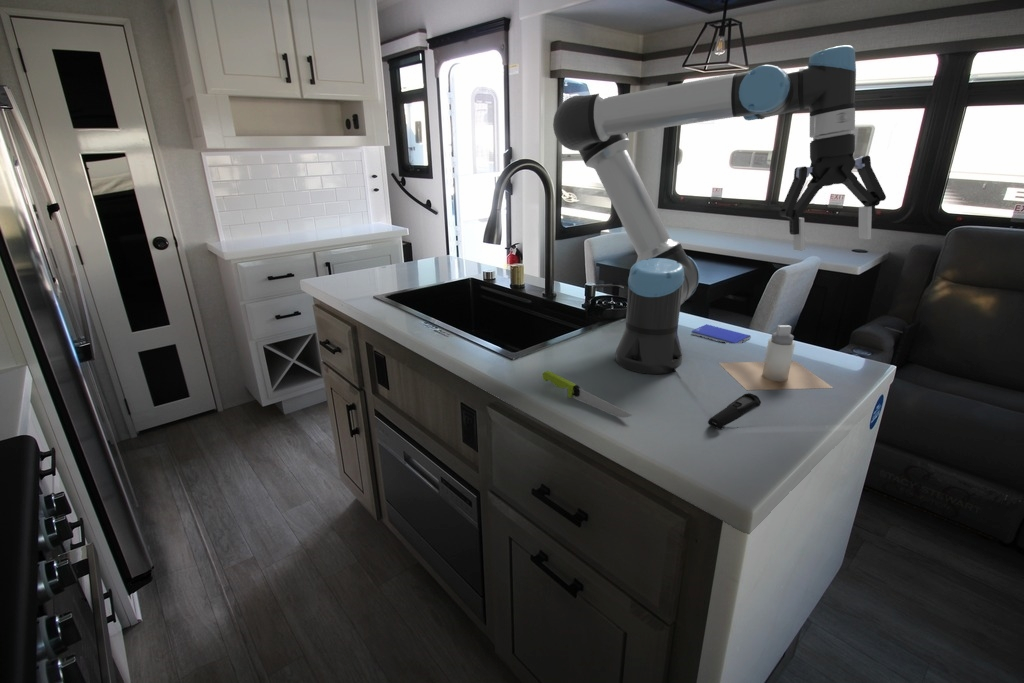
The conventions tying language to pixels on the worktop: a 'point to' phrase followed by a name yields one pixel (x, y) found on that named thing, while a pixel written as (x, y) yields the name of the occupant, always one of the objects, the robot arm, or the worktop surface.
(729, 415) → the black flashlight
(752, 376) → the board
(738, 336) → the hard drive
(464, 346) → the worktop surface
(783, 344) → the white bottle
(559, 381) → the kitchen knife
